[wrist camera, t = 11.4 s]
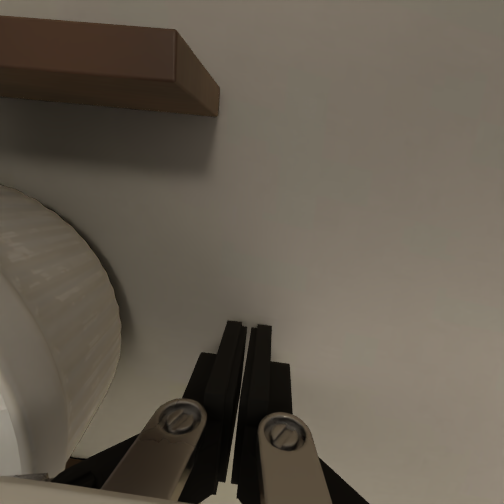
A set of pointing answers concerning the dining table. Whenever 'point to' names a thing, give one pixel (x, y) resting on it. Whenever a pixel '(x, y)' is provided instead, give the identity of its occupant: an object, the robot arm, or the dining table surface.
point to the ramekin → (50, 336)
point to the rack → (103, 68)
